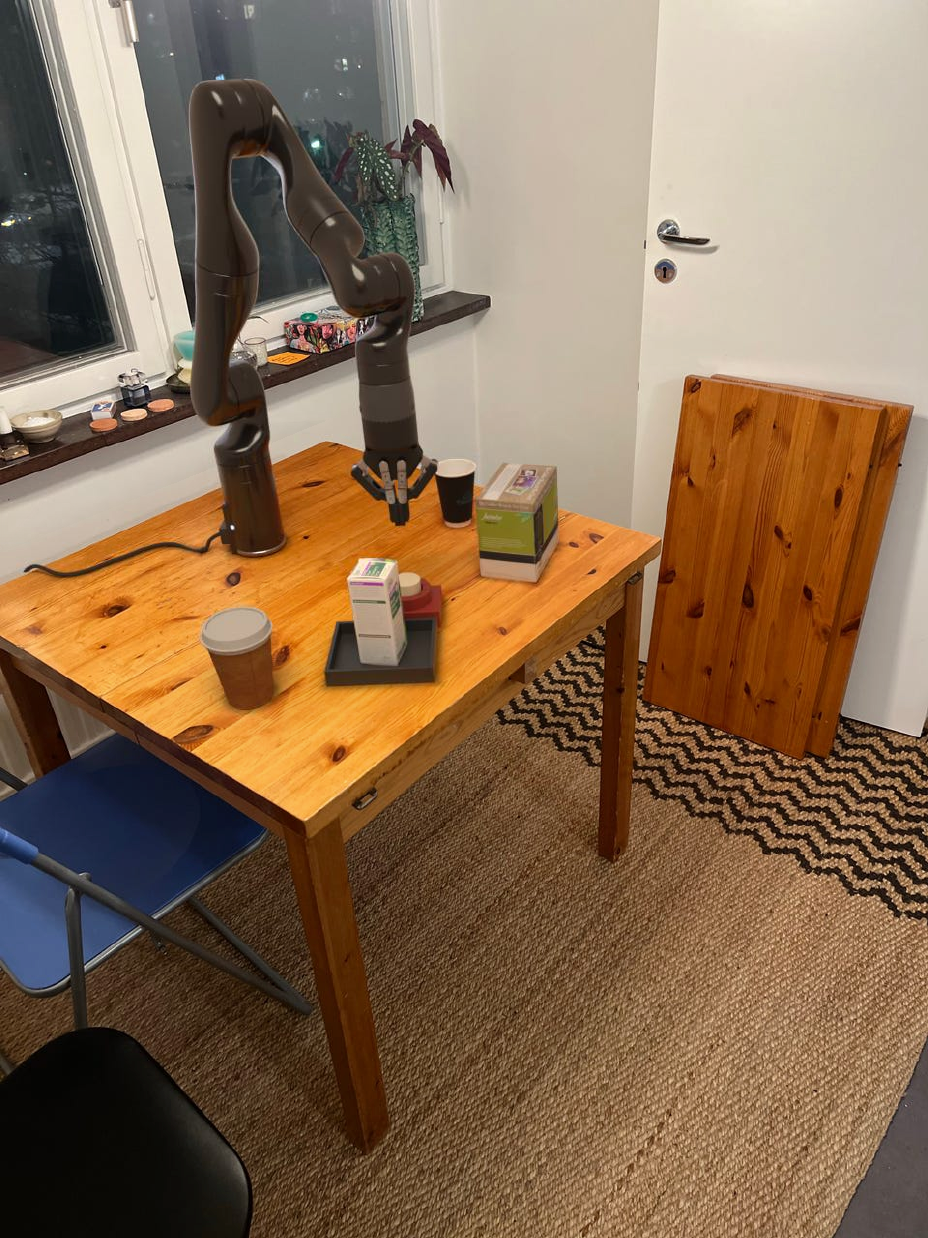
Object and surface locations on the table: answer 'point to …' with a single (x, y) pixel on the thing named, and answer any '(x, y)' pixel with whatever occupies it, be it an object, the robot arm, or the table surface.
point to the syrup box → (377, 611)
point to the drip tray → (410, 669)
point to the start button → (409, 584)
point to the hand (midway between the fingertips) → (400, 523)
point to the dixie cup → (456, 490)
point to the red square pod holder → (424, 602)
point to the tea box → (517, 522)
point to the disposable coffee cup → (241, 654)
